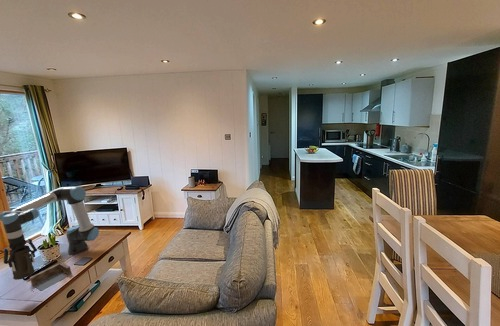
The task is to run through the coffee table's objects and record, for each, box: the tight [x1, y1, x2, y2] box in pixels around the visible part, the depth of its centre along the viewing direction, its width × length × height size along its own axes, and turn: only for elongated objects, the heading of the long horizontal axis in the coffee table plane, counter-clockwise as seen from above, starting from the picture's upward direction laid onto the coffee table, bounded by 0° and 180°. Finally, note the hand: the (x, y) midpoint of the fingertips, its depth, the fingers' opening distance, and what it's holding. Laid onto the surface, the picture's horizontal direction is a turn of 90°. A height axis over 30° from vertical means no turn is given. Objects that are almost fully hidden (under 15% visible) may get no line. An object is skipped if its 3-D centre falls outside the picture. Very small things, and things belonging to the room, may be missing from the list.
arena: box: [29, 261, 72, 286], centre depth 178 cm, size 20×14×6 cm
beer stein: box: [8, 244, 36, 281], centre depth 158 cm, size 15×11×20 cm
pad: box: [33, 271, 69, 292], centre depth 177 cm, size 17×12×1 cm
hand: (24, 266), depth 158 cm, fingers closed on beer stein, 9 cm apart
